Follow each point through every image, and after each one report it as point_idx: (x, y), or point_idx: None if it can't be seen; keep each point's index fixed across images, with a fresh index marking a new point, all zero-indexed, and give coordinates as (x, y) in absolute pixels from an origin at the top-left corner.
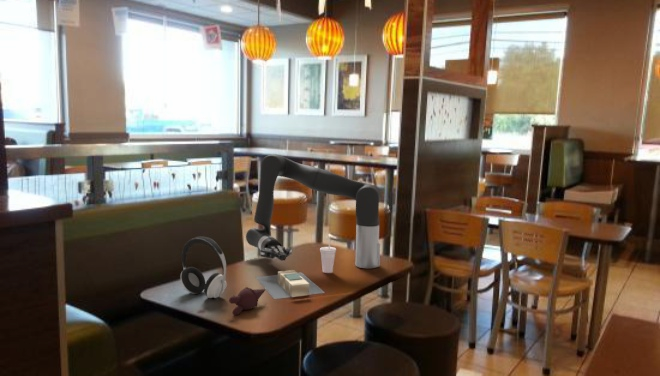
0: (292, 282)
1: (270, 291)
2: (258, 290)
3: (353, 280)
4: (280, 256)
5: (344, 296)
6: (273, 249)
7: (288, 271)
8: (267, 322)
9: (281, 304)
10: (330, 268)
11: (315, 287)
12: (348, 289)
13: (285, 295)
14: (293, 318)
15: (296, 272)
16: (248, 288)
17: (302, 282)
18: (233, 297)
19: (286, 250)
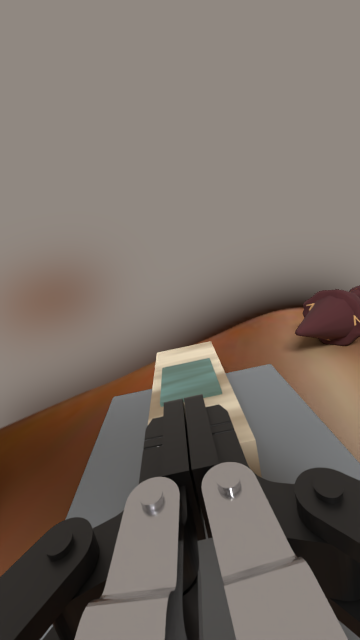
0: (204, 352)
1: (291, 401)
2: (309, 313)
3: None
4: (211, 413)
5: (79, 394)
6: (335, 623)
7: None
8: (276, 321)
9: (250, 359)
10: None
11: (112, 429)
12: (23, 430)
13: (235, 380)
14: (230, 331)
15: (148, 423)
16: (331, 291)
17: (173, 354)
18: (357, 286)
19: (54, 537)
